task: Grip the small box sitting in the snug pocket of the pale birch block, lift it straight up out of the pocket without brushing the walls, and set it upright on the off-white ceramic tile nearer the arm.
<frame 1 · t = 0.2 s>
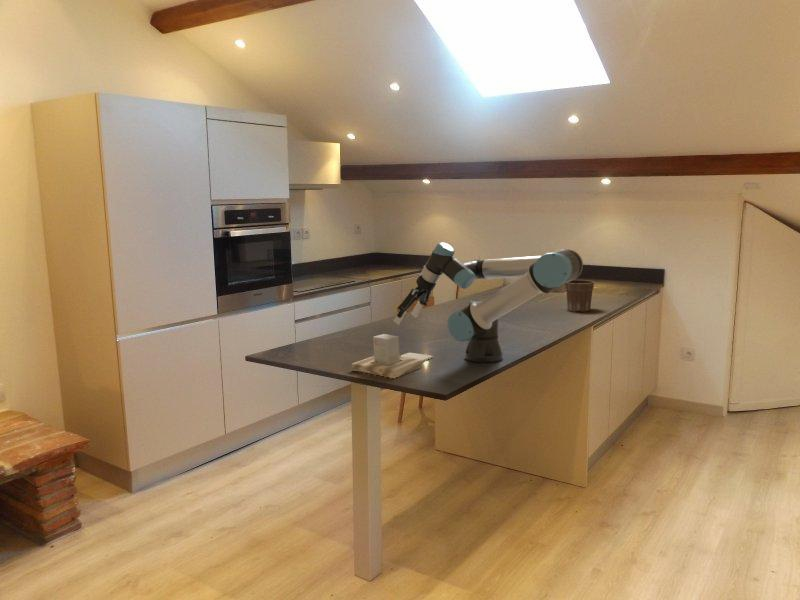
hand: (405, 319, 256), 16 cm above the worktop, tool tilted 35°, fingers open, 13 cm apart
pocket block: (387, 369, 241), on the worktop
ceramic tile: (414, 358, 255), on the worktop
plant pot: (579, 310, 348), on the worktop
small box: (387, 369, 241), resting in pocket block
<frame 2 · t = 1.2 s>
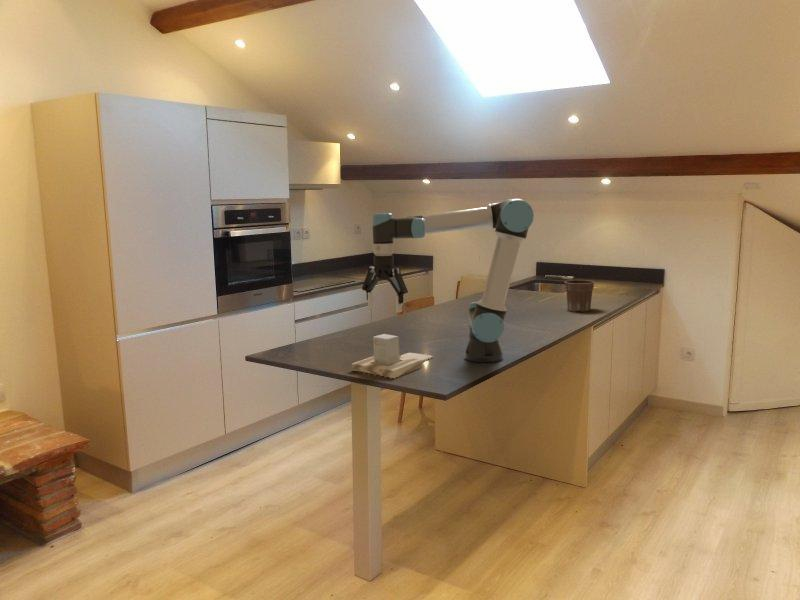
hand: (384, 310, 238), 23 cm above the worktop, tool pointing down, fingers open, 13 cm apart
nothing on the worktop moved.
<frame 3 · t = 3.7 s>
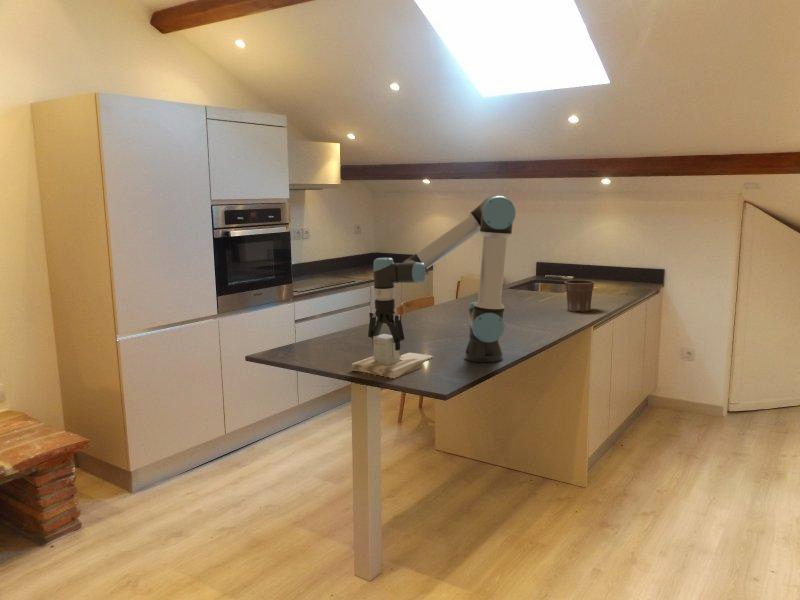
hand: (386, 356, 241), 5 cm above the worktop, tool pointing down, fingers closed on small box, 8 cm apart
small box: (387, 369, 241), resting in pocket block, touching gripper
everything else where it was.
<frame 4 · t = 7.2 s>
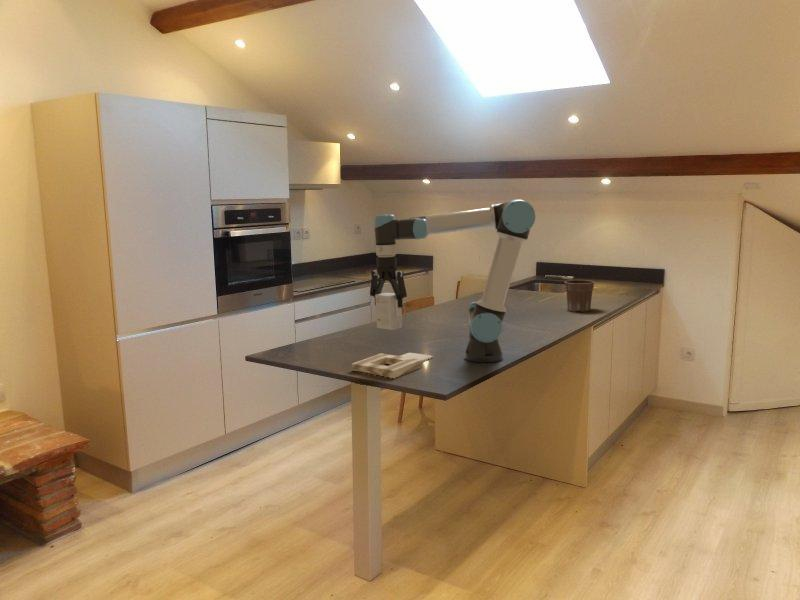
hand: (389, 315, 239), 21 cm above the worktop, tool pointing down, fingers closed on small box, 8 cm apart
small box: (389, 328, 240), point 16 cm above the worktop, touching gripper
everything else where it was.
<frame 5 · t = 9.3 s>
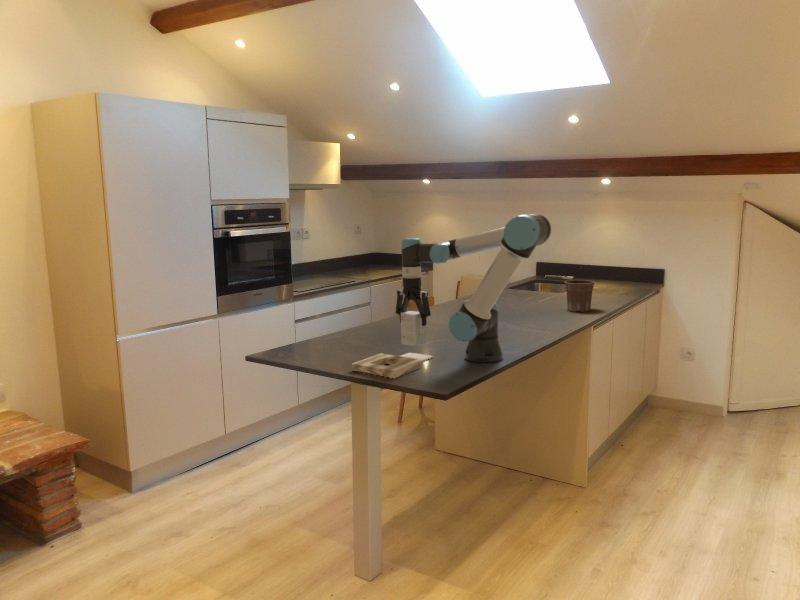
hand: (413, 332, 254), 11 cm above the worktop, tool pointing down, fingers closed on small box, 8 cm apart
small box: (413, 344, 255), point 6 cm above the worktop, touching gripper
everything else where it was.
when the fingers open (7 cm above the worktop, at t = 10.9 s): small box drops 1 cm, resting on ceramic tile.
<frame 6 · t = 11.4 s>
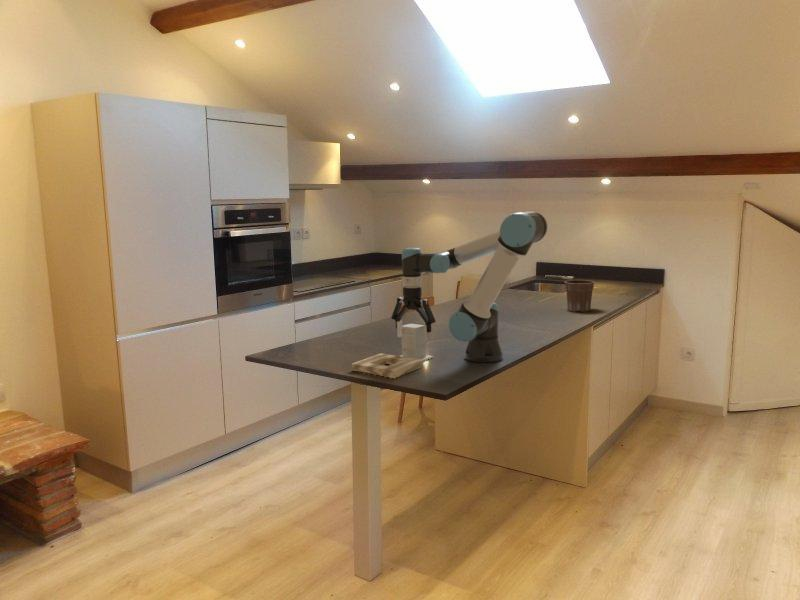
hand: (413, 338, 254), 8 cm above the worktop, tool pointing down, fingers open, 13 cm apart
small box: (414, 357, 255), point 1 cm above the worktop, touching ceramic tile
everything else where it was.
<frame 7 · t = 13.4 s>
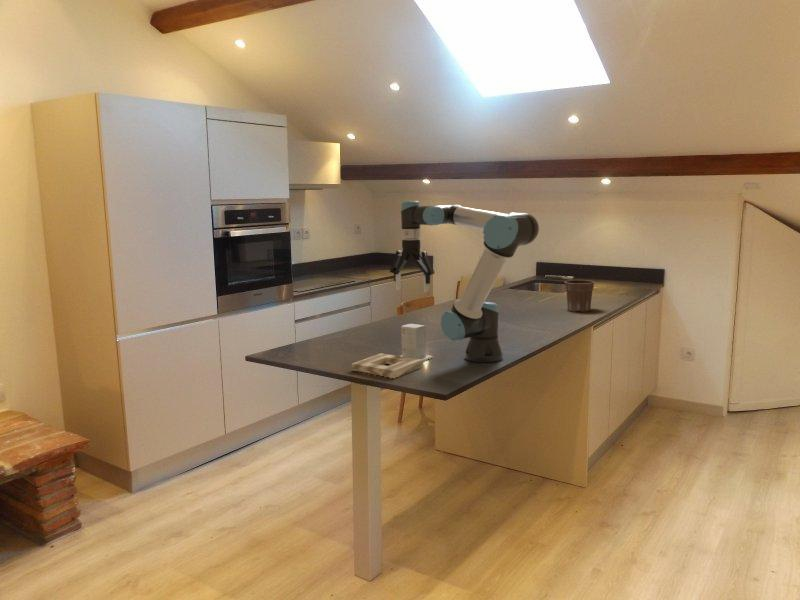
hand: (412, 290, 259), 27 cm above the worktop, tool pointing down, fingers open, 13 cm apart
nothing on the worktop moved.
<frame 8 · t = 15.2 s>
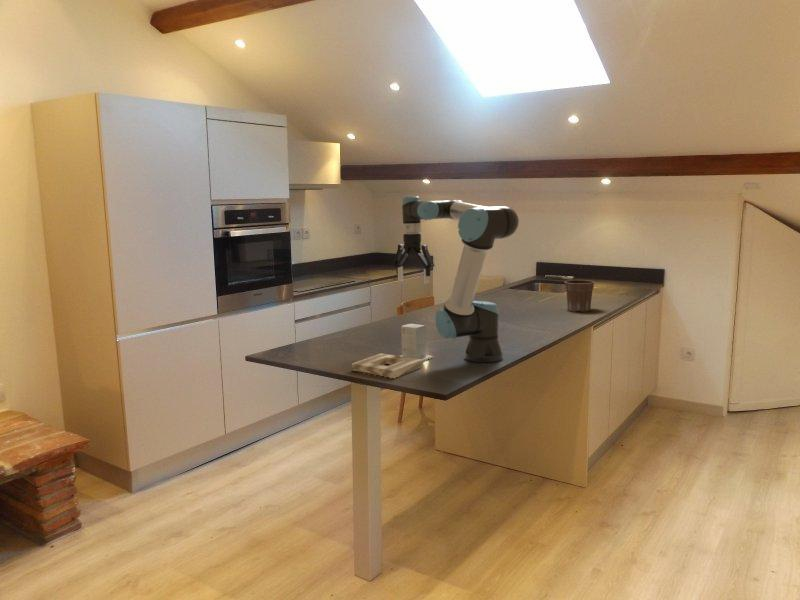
hand: (413, 283, 269), 29 cm above the worktop, tool pointing down, fingers open, 13 cm apart
nothing on the worktop moved.
at the end: small box inside the target area on the ceramic tile (0.1 cm from its centre), point 0.6 cm above the ceramic tile's base; small box tilted 0°; small box touching ceramic tile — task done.
